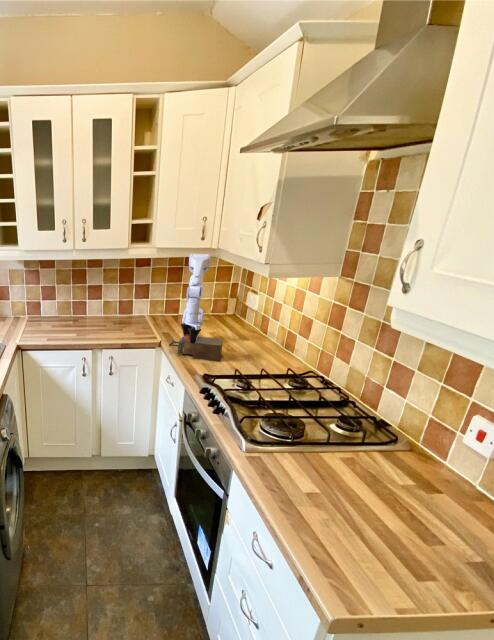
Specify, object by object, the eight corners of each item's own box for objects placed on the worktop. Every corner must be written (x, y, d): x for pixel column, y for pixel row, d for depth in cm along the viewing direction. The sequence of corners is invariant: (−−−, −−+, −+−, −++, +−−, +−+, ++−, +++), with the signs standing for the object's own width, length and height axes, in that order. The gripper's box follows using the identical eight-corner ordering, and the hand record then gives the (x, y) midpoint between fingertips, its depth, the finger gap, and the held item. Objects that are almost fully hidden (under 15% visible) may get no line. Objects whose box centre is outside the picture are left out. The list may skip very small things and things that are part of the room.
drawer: (167, 352, 195) (168, 340, 193) (171, 346, 203) (172, 335, 201) (200, 356, 190) (201, 344, 187) (203, 350, 198) (204, 339, 195)
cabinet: (192, 358, 191) (194, 342, 188) (196, 351, 200) (198, 336, 197) (218, 361, 186) (220, 345, 183) (221, 354, 195) (223, 339, 192)
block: (183, 344, 194) (184, 335, 192) (186, 341, 197) (187, 333, 195) (191, 345, 192) (192, 337, 190) (194, 343, 195) (195, 335, 193)
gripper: (208, 315, 183) (204, 344, 188) (193, 308, 196) (190, 335, 201) (193, 316, 181) (190, 345, 187) (179, 309, 194) (176, 336, 200)
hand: (189, 340), depth 194 cm, fingers closed on block, 6 cm apart
